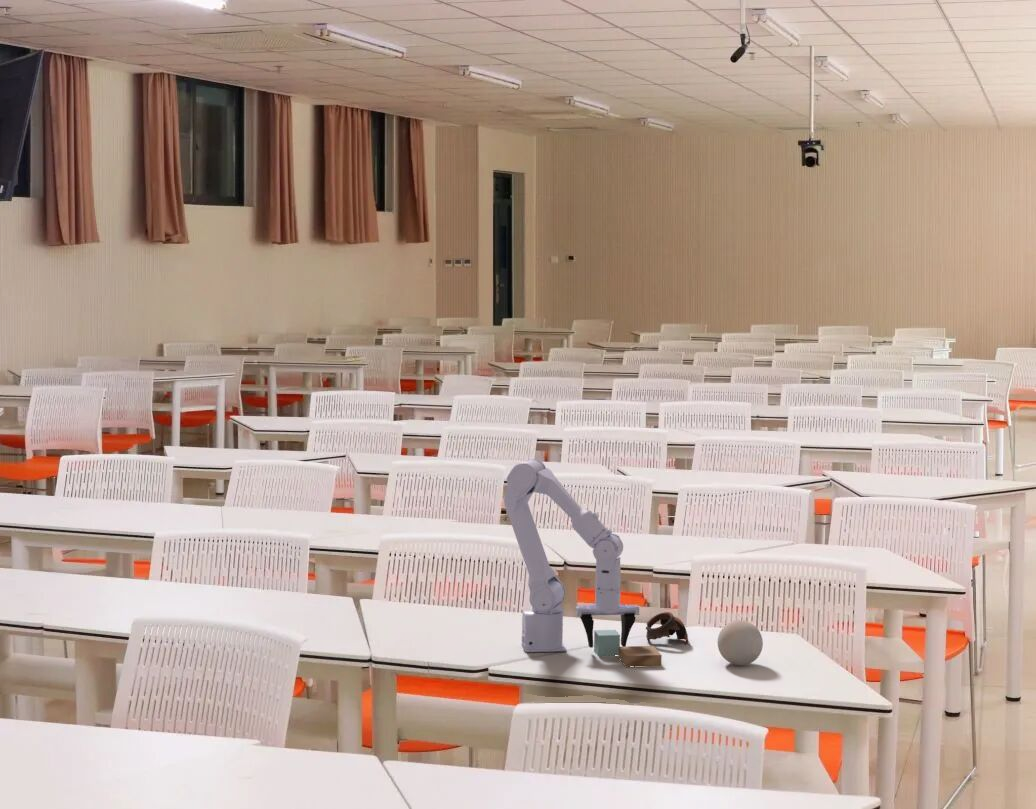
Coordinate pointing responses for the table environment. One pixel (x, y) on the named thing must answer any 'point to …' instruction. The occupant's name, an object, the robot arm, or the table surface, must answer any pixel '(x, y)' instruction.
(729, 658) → the grey sphere
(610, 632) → the cube
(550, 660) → the table surface
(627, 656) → the slab
